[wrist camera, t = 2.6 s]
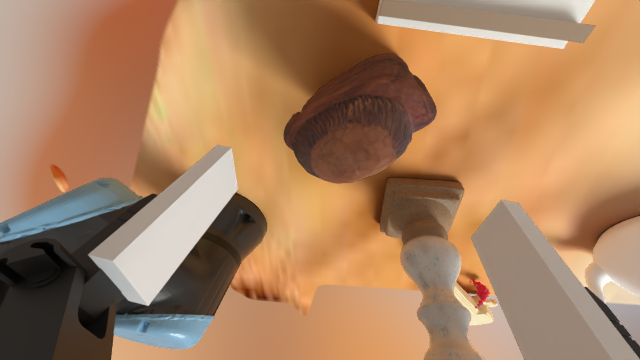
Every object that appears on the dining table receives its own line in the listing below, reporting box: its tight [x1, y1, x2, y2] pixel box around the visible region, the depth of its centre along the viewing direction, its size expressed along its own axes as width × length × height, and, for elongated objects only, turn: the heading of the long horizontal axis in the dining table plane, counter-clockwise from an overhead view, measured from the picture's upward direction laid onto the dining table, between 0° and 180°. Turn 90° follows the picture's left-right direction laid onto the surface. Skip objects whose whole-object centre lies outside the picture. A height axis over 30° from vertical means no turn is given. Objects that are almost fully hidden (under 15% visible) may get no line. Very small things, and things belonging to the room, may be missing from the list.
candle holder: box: [380, 177, 485, 360], centre depth 28 cm, size 11×11×24 cm
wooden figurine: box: [284, 54, 437, 183], centre depth 21 cm, size 12×6×18 cm, turn 119°
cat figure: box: [454, 281, 498, 326], centre depth 44 cm, size 10×9×25 cm
